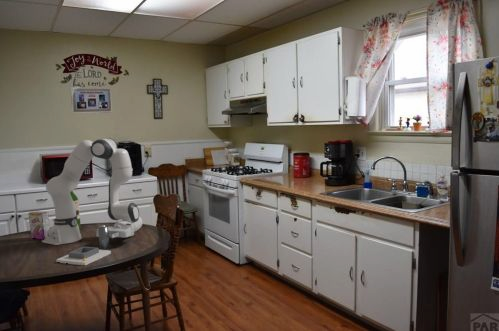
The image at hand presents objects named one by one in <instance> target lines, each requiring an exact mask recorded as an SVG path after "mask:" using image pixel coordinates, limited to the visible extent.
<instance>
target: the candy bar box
mask: <svg viewBox="0 0 499 331" xmlns="http://www.w3.org/2000/svg"><path fill="white" fill-rule="evenodd" d="M27 215H28V223H29V229H30V239H31V238H36V239H35V240H43V239H46V232H47V231H48V230H49V229H50V228H51V226H50V217H49V211H42V210H41V211H40V210H39V211H38V210H34V211H30V212H28V214H27Z"/></svg>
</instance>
